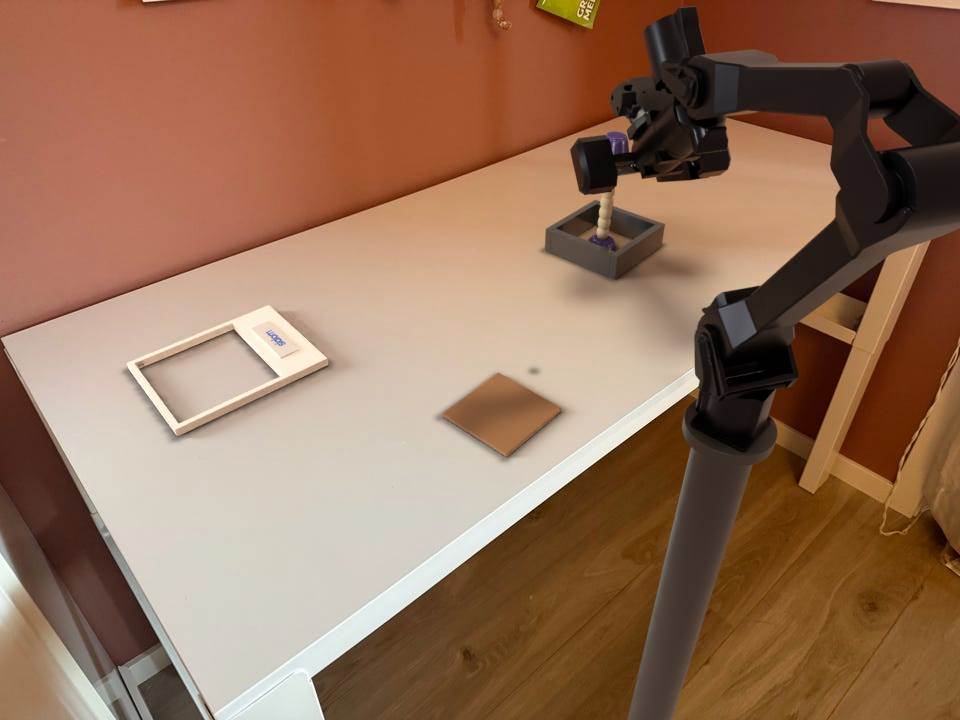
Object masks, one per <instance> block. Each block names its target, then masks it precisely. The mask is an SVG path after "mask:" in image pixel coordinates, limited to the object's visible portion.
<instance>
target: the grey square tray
mask: <svg viewBox="0 0 960 720" xmlns="http://www.w3.org/2000/svg"><path fill="white" fill-rule="evenodd" d="M600 201H601V200H598V199H594V200H592V201H590V202H588V203H587V204H585V205H584V206H582V207H580V208H579V209H577V210H575V211H574V212H572V213H570V214H568V215H566V216H565V217H563V218H562V219H561V218H560V220H558V221H557V222H554V223H553V224H552V225H551V224H550V225H549V226H548V227H546V228H545V236H544V252H547V253H550V254H552V255H555V256H557V257H559V258H562V259H564V260H568V261H569V262H572V263H574V264H577V265H579V266H581V267H583V268H585V269H588V270H590V271H593V272H596V273H598V274H600V275H602V276H605V277H608V278H610V279H613V280H616V279H618V278H619V277H620V276H622V275H623V274H625V273H626V272H627V271H628V270H630V269H631V268H633V267H634V266H635V265H637V264H638V263H640V262H642V261H643V260H644V259H645V258H647V257H648V256H649V255H651V254H652V253H654V252H656V251H657V250H658V249H660V248H661V247H662V246H663V240H664V234H665V227H666V224H665V223H663V222H661V221H658V220H654V219H651V218H648V217H646V216H643V215H641V214H638V213H634V212H631V211H629V210H626V209H623V208H621V207H620V208H619V206H618V207H617V206H614V205H613V206H612V207H611V208H612V215H611V217H610V219H611V223H610V226H609V231H611V232H613V233H616V234H619V235H622V236H624V237H627V238H630V239H632V240H631V241H629V242H628V243H626V244H625V245H623V246H622V247H620V248H618V249H617V250H615V252H614V251H612V250H609V249H607V248H604V247H602V246H599V245H597V244H594V243H591V242H589V241H588V240H586V239H585V238H581V237H580V236H579V235H581V234H583V233H584V232H586V231H588V230H589V229H591V228H593V226H598V219H599V217H600V216H599V210H600V207H601V205H600Z"/></svg>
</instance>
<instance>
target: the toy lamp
mask: <svg viewBox="0 0 960 720" xmlns="http://www.w3.org/2000/svg"><path fill="white" fill-rule="evenodd" d="M604 135H606V136H607V137H608V138H609V139H610V143H611V147H612V151H613V154H621V153H628V152H630V145H629V138H628V134H627V133H626V134H625V133H624V132H621V131H608V132H606V133H605V134H604ZM625 167H626V166H625ZM628 167H629V166H628ZM616 168H617V167H616ZM619 168H620V167H619ZM622 168H623V166H622ZM615 194H616V187H615V188H614V189H612V192H608V193H601V198H600V200H599V201H600V205H601V207H600V210H599V216H600V217H599V219H598V225H597V226H598V227H597V228H596V234H594V235H592V236H591V237H590V238H589V239H588V240H587V241H589V242H591V243H594V244H597V245H599V246H602V247H604V248H607V249H609V250H612V251H614V252H616V251H617V250H616V249H617V244H616V242H615V239H614V238H613V237H612V236H611V235H610V230H609V226H610V223H611V219H610V217H611V215H612V208H611V207H612V206H614V203H615V201H614V199H615V198H614V196H615Z"/></svg>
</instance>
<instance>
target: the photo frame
mask: <svg viewBox="0 0 960 720" xmlns="http://www.w3.org/2000/svg"><path fill="white" fill-rule="evenodd" d="M233 330H234V332H235V333H237V334H238V335H239V337H241V338H242V340H243V341H245V343H247V344H248V346H249V347H250V348H251V349H252V350H253V351H254V352H255V353H256V354H257V355H258V356H259V357H260V359H262V360H263V361H264V362H265V363H266V364H267V365H268V366H269V367H270V368H271V369H272V370H273V372H274V373H276V375H277V376H278V377H276V378H274V379H272V380H270V381H267V382H265V383H263V384H260V385H259V386H256V387H254V388H252V389H250V390H249V391H245V392H243V393H241V394H240V395H238V396H235V397H234V398H231V399H228V400H227V401H224V402H222V403H220V404H218V405H216V406H214V407H212V408H210V409H207V410H205V411H202V412H201V413H198V414H196V415H194V416H192V417H190V418H188V419H186V420H183V421H182V422H180V423H179V422H178V421H177V419H176V418H175V417H174V415H173V414H172V413H171V411H170V410H169V408H168V407H167V406H166V404H165V403H164V402H163V400H162V399H161V397H160V396H159V395H158V393H157V392H156V391H155V389H154V388H153V387H152V385H151V384H150V383H149V381H148V380H147V379H146V377H145V376H144V375H143V373H142V371H141V370H140V369H142V368H145V367H146V366H149V365H152V364H154V363H156V362H159V361H161V360H163V359H166V358H168V357H171V356H173V355H176V354H177V353H181V352H183V351H186V350H187V349H190V348H192V347H194V346H197V345H200V344H202V343H204V342H207V341H209V340H211V339H214V338H217V337H219V336H221V335H224V334H226V333H228V332H231V331H233ZM126 365H127V368H128V370H129V371H130V373H131V374H132V376H133V378H135V380H136V381H137V383H138V385H139V386H140V387H141V388H142V390H143V391H144V392H145V394H146V395H147V396H148V398H149V399H150V401H151V402H152V403H153V405H154V406H155V408H156V409H157V411H158V412H159V413H160V414H161V416H162V417H163V419H164V420H165V422H166V423H167V424H168V426H169V427H170V429H171V430H172V431H173V433H174V434H175V435H176V437H180V436H182V435H183V434H186V433H187V432H190V431H192V430H194V429H196V428H199V427H201V426H202V425H204V424H207V423H209V422H211V421H213V420H215V419H217V418H220V417H222V416H223V415H225V414H227V413H230V412H232V411H234V410H236V409H239V408H240V407H242V406H244V405H247V404H249V403H251V402H254V401H255V400H257V399H259V398H261V397H263V396H265V395H268V394H270V393H272V392H274V391H276V390H278V389H281V388H282V387H285V386H287V385H289V384H291V383H293V382H295V381H297V380H299V379H302V378H304V377H306V376H308V375H310V374H313V373H314V372H316V371H318V370H320V369H323V368H324V367H326V366H328V365H329V360H328V357H326V356H325V355H324V354H323V353H322V352H321V351H320V350H319V349H318V348H317V347H315V346H314V345H313V343H311V342H310V341H309V340H308V339H307V338H306V337H305V336H304V335H303V334H301V332H299V331H298V330H297V329H296V328H295V327H294V326H292V324H291V323H289V321H288V320H287V319H285V318H284V317H283V316H282V315H281V314H280V313H279V312H278V311H276V309H274V308H273V307H272V306H271V305H270V304H268V305H265V306H262V307H260V308H258V309H256V310H253V311H250V312H248V313H246V314H243V315H240V316H238V317H236V318H233V319H231V320H228V321H226V322H223V323H221V324H219V325H217V326H213V327H211V328H209V329H206V330H204V331H202V332H199V333H197V334H194V335H192V336H189V337H187V338H184V339H182V340H180V341H177V342H175V343H172V344H170V345H168V346H167V345H166V346H165V347H163V348H160V349H158V350H157V349H156V350H155V351H153V352H150V353H147V354H145V355H143V356H140V357H137V358H136V359H134V360H131V361H128V362H126Z"/></svg>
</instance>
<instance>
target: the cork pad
mask: <svg viewBox="0 0 960 720" xmlns="http://www.w3.org/2000/svg"><path fill="white" fill-rule="evenodd" d="M562 409H563V407H561V406H559V405H557V404H555V403H554V402H552V401H550V400H548V399H546V398H545V397H544V396H541V395H539V394H537V393H535V392H533V391H532V390H530V389H528V388H526V387H525V386H524V385H521V384H519V383H518V382H516V381H514V380H513V379H511V378H509V377H508V376H505V375H503V374H501V373H499V372H497V373H496V374H494V375H493V376H492V377H490V378H489V379H487V380H486V381H484V382H483V383H482V384H480V385H479V386H478V387H476V388H475V389H474V390H473V391H471V392H470V393H468V394H467V395H465V396H464V397H462V398H461V399H460V400H458V401H457V402H456V403H454V404H453V405H452V406H450V407H449V408H448V409H446V410H445V411H443V412H442V418H444V419H445V420H447V421H449V422H450V423H452V424H453V425H455V426H456V427H458V428H460V429H461V430H463V431H464V432H466V433H467V434H469V435H471V436H472V437H474V438H476V439H477V440H478V441H480V442H481V443H484V444H485V445H486V446H488V447H490V448H491V449H493V450H495V451H496V452H497V453H499V454H501V455H502V456H504V457H505V458H508V457H510V455H511V454H512V453H514V452H515V451H516V450H517V449H518V448H520V447H521V446H522V445H524V444H525V442H526V441H528V440H529V439H530V438H532V437H533V436H534V435H535V434H536V433H537V432H539V431H540V430H541V429H543V427H545V426H546V425H547V424H548V423H550V422H551V421H552V420H553V419H554V418H556V417H557V416H558V415H559V414H560V413H561V412H562Z"/></svg>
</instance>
